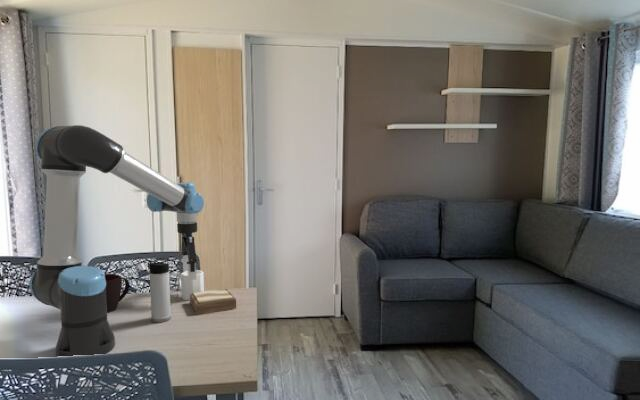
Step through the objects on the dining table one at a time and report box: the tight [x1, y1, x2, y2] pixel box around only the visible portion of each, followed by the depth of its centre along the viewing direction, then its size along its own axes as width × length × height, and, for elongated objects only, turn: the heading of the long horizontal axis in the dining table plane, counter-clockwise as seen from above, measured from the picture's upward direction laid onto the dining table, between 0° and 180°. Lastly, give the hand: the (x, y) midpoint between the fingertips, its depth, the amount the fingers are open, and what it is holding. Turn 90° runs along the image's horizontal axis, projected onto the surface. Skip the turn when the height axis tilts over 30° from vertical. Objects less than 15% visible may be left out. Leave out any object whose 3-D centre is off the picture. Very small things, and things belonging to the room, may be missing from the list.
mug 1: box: [104, 273, 130, 314], centre depth 160 cm, size 10×14×12 cm
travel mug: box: [148, 262, 172, 324], centre depth 149 cm, size 6×7×20 cm
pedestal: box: [189, 288, 237, 316], centre depth 163 cm, size 14×14×4 cm
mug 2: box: [177, 269, 205, 301], centre depth 174 cm, size 12×9×10 cm
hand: (189, 275), depth 174 cm, fingers open, 13 cm apart
